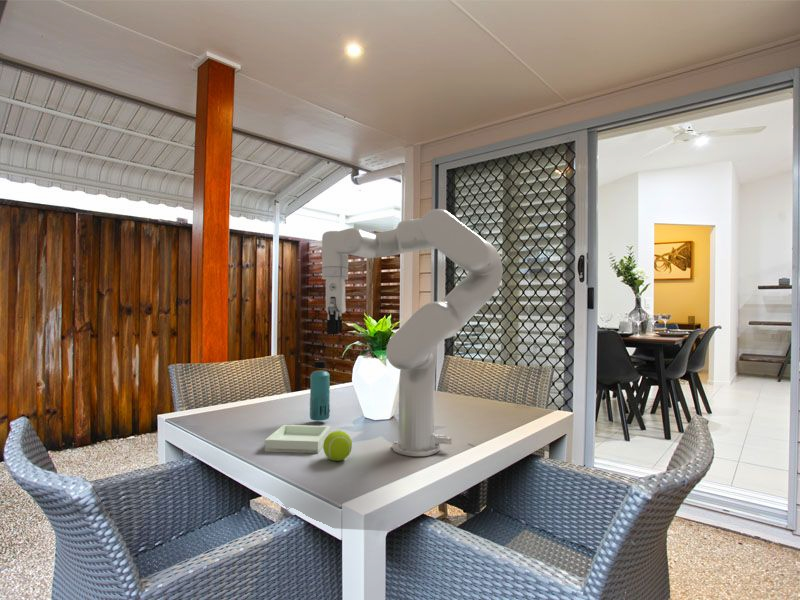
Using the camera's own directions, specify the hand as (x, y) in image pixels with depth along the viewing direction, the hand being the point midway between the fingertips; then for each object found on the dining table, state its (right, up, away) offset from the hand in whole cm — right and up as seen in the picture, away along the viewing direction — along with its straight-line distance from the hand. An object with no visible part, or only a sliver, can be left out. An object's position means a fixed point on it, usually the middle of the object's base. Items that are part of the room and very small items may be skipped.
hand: (334, 333), depth 124 cm
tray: (-9, -30, -7) cm, 32 cm away
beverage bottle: (-7, -30, +14) cm, 34 cm away
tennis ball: (+4, -30, -19) cm, 35 cm away
